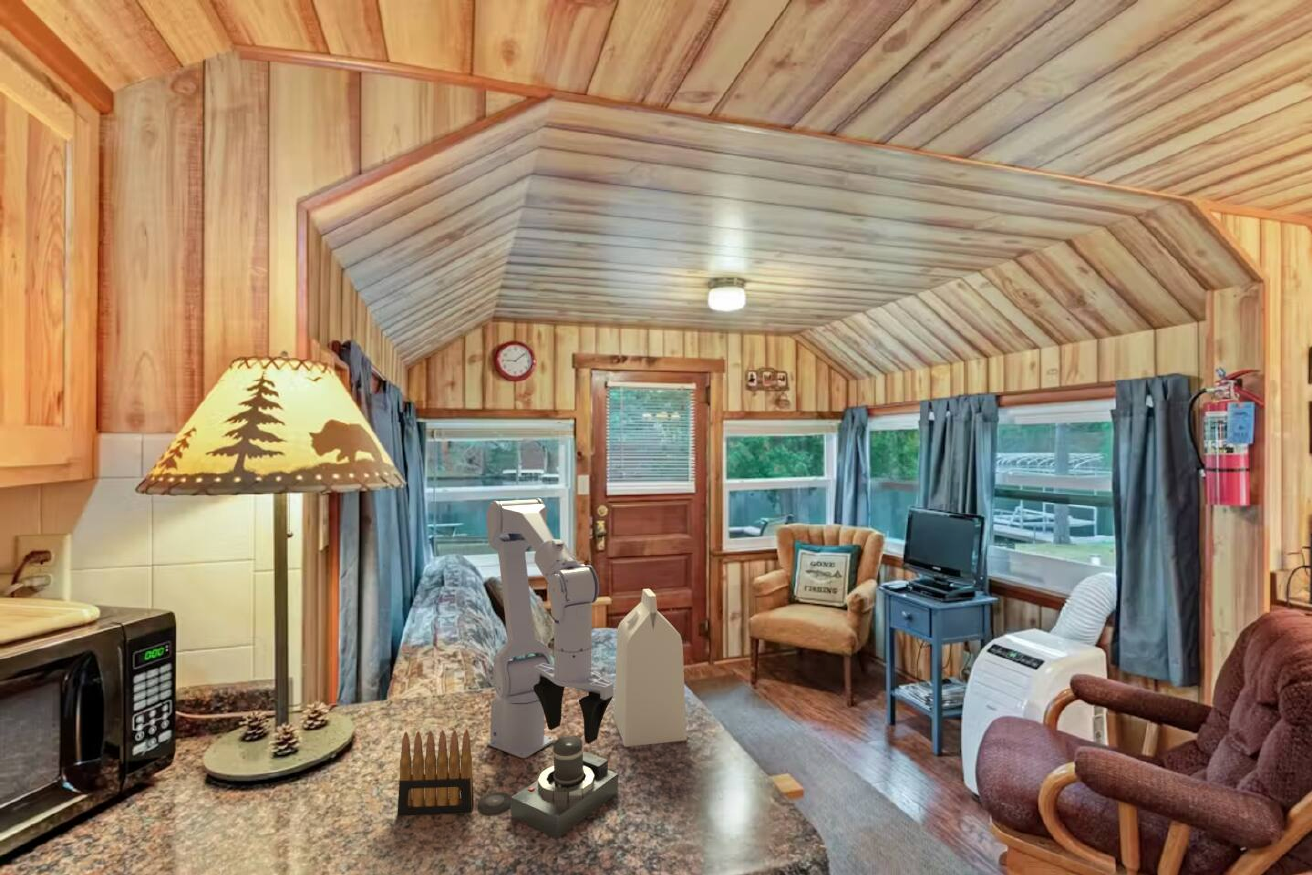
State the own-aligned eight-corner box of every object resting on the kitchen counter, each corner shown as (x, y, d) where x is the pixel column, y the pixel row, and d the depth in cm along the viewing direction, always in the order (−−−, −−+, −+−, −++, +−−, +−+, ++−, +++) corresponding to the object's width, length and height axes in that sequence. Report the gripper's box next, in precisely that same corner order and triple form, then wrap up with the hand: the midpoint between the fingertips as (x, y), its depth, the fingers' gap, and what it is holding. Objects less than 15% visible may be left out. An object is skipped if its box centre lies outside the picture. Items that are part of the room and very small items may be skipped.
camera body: (511, 817, 95) (511, 786, 95) (574, 775, 107) (574, 747, 107) (556, 838, 90) (557, 805, 90) (618, 792, 102) (618, 763, 102)
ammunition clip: (474, 805, 98) (474, 726, 98) (471, 813, 96) (471, 732, 96) (401, 808, 97) (401, 728, 97) (397, 816, 96) (397, 734, 96)
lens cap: (470, 809, 98) (470, 802, 98) (495, 793, 102) (495, 787, 102) (494, 820, 95) (494, 813, 95) (518, 804, 99) (518, 797, 99)
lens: (547, 785, 98) (546, 746, 98) (566, 770, 102) (565, 733, 102) (571, 794, 96) (570, 754, 96) (590, 778, 100) (589, 740, 100)
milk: (686, 740, 120) (687, 598, 119) (624, 746, 117) (625, 602, 117) (670, 712, 131) (670, 583, 131) (613, 718, 129) (614, 586, 128)
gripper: (626, 648, 100) (625, 736, 100) (555, 631, 108) (555, 712, 108) (596, 661, 94) (596, 755, 94) (524, 642, 102) (524, 728, 102)
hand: (572, 733), depth 101 cm, fingers open, 7 cm apart
